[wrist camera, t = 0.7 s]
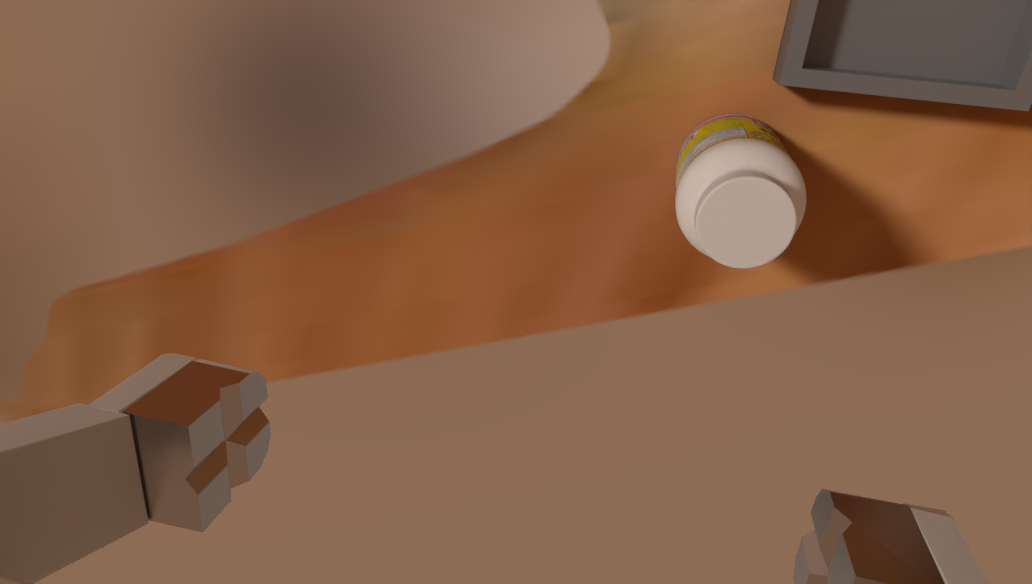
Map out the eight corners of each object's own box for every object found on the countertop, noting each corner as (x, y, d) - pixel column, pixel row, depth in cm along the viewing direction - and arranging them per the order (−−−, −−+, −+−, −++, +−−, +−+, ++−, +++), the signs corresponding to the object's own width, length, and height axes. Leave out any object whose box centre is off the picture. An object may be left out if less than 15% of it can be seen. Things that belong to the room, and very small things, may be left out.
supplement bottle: (794, 194, 44) (835, 267, 32) (693, 225, 46) (697, 304, 35) (767, 94, 42) (800, 136, 30) (662, 132, 44) (656, 184, 33)
